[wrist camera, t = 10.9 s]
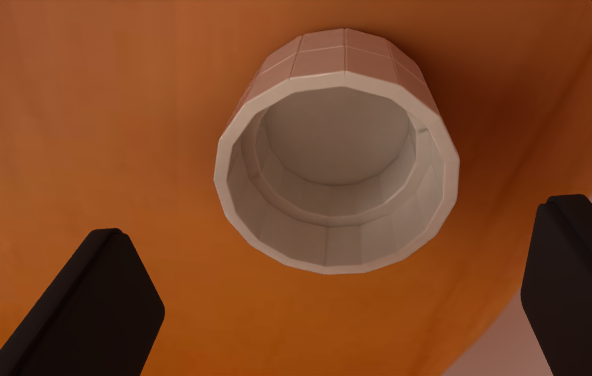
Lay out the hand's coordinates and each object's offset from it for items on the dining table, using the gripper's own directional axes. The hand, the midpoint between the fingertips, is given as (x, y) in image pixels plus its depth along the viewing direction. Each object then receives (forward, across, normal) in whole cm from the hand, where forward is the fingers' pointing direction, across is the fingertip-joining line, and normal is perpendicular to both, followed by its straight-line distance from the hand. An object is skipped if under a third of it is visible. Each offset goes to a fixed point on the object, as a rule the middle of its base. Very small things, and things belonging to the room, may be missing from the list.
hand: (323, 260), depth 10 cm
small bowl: (+7, 0, 0) cm, 7 cm away
